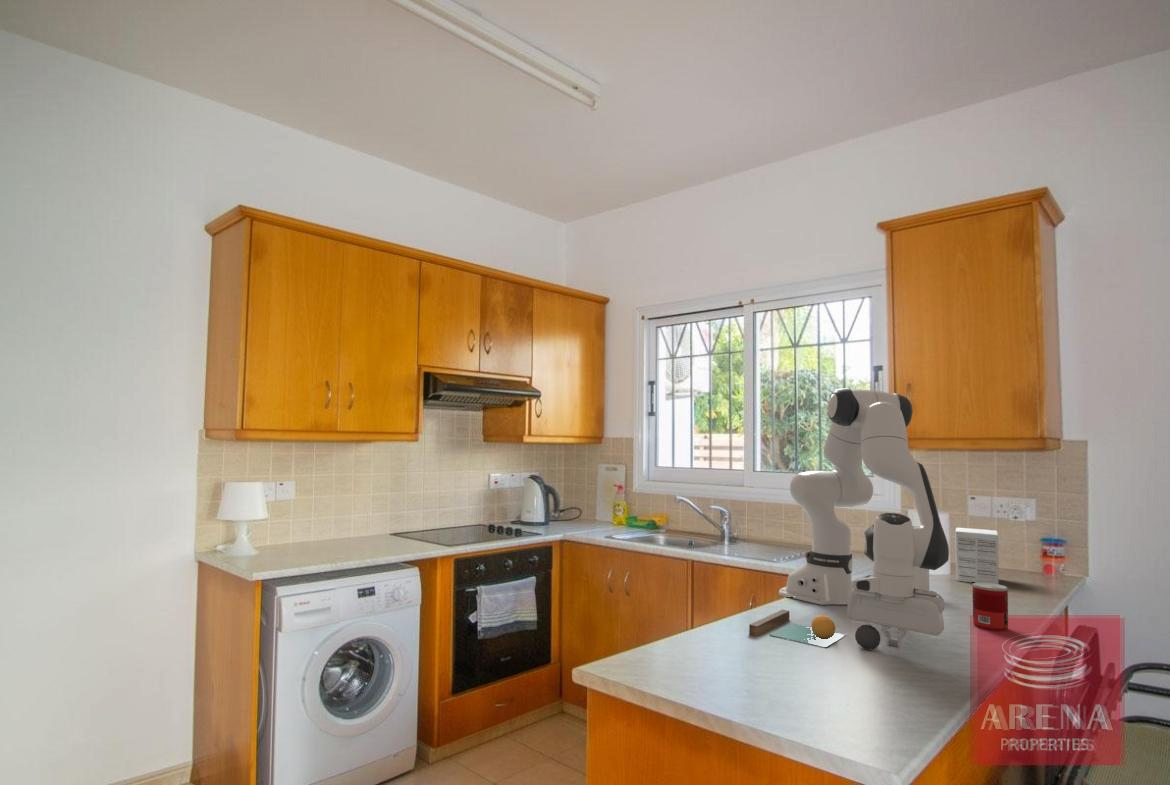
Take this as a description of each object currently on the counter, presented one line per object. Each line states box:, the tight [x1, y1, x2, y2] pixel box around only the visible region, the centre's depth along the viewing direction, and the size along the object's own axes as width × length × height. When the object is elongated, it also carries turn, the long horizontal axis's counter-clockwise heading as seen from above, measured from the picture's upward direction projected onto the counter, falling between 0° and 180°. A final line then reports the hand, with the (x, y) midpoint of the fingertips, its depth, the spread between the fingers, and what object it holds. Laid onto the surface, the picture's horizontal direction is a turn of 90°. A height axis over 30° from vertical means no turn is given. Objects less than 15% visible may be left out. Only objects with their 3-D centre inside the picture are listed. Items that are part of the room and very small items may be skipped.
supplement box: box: [954, 527, 1000, 585], centre depth 239 cm, size 13×13×18 cm
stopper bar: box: [748, 609, 790, 638], centre depth 172 cm, size 2×20×2 cm, turn 140°
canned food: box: [972, 582, 1009, 632], centre depth 177 cm, size 8×8×11 cm
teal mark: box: [769, 623, 817, 644], centre depth 166 cm, size 14×14×1 cm
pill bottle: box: [913, 567, 930, 596], centre depth 211 cm, size 8×8×15 cm
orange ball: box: [811, 614, 836, 639], centre depth 164 cm, size 6×6×6 cm
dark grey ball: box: [854, 624, 882, 651], centre depth 156 cm, size 6×6×6 cm
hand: (894, 646), depth 153 cm, fingers closed
